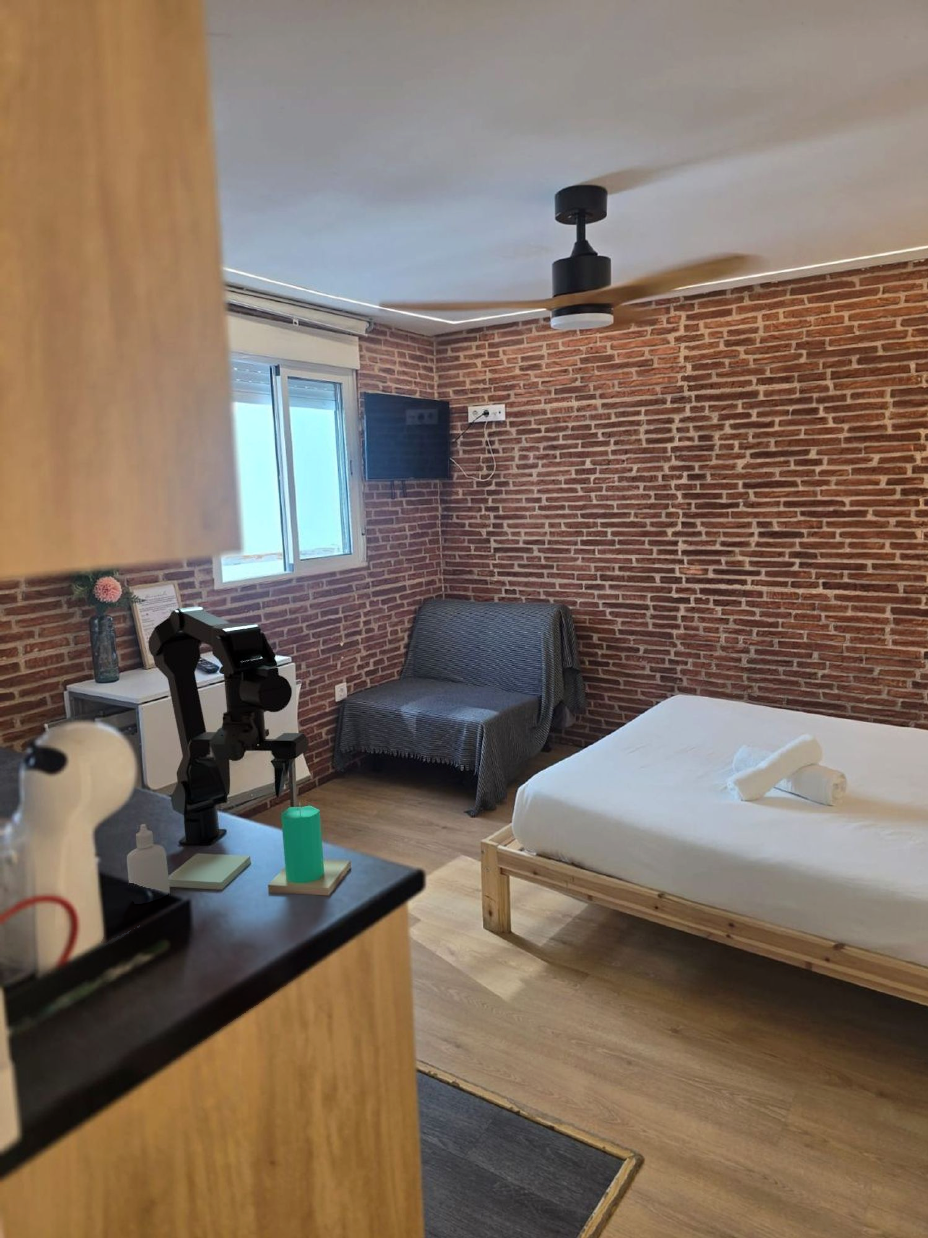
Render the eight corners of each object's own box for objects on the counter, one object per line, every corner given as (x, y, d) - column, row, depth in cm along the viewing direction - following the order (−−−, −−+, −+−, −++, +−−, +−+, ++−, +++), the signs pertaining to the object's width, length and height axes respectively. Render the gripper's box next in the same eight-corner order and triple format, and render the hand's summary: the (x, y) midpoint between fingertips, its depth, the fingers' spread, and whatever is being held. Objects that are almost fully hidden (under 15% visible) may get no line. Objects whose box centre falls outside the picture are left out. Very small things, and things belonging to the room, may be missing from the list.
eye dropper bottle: (136, 893, 130) (128, 821, 128) (172, 890, 131) (165, 818, 129) (128, 906, 126) (119, 831, 124) (165, 903, 126) (158, 828, 125)
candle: (324, 880, 129) (319, 807, 127) (285, 885, 128) (279, 811, 126) (323, 864, 135) (318, 794, 133) (286, 869, 133) (280, 798, 132)
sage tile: (197, 860, 142) (196, 853, 142) (250, 862, 140) (250, 856, 139) (165, 886, 132) (164, 879, 132) (221, 889, 130) (221, 882, 130)
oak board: (294, 864, 138) (294, 858, 138) (350, 867, 136) (350, 860, 136) (268, 892, 128) (268, 885, 128) (328, 895, 126) (328, 888, 126)
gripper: (164, 715, 126) (174, 812, 128) (277, 715, 123) (285, 816, 125) (201, 698, 137) (210, 788, 139) (306, 698, 133) (313, 791, 135)
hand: (252, 796), depth 134 cm, fingers open, 9 cm apart
